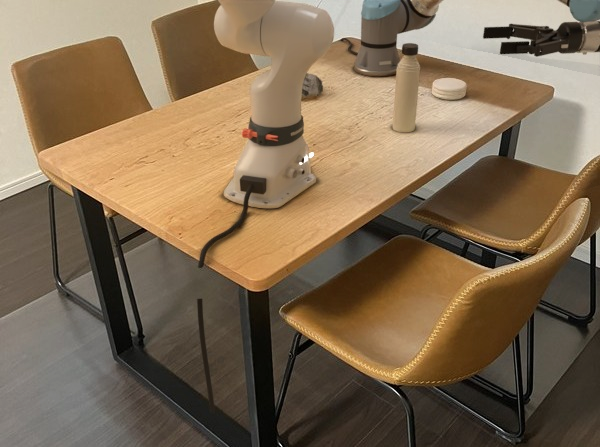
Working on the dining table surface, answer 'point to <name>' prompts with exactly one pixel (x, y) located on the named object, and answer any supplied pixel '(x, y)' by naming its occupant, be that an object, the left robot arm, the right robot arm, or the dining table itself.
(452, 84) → the cream round flat disc
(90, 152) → the dining table surface
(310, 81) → the rock
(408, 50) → the cap
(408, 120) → the bottle
